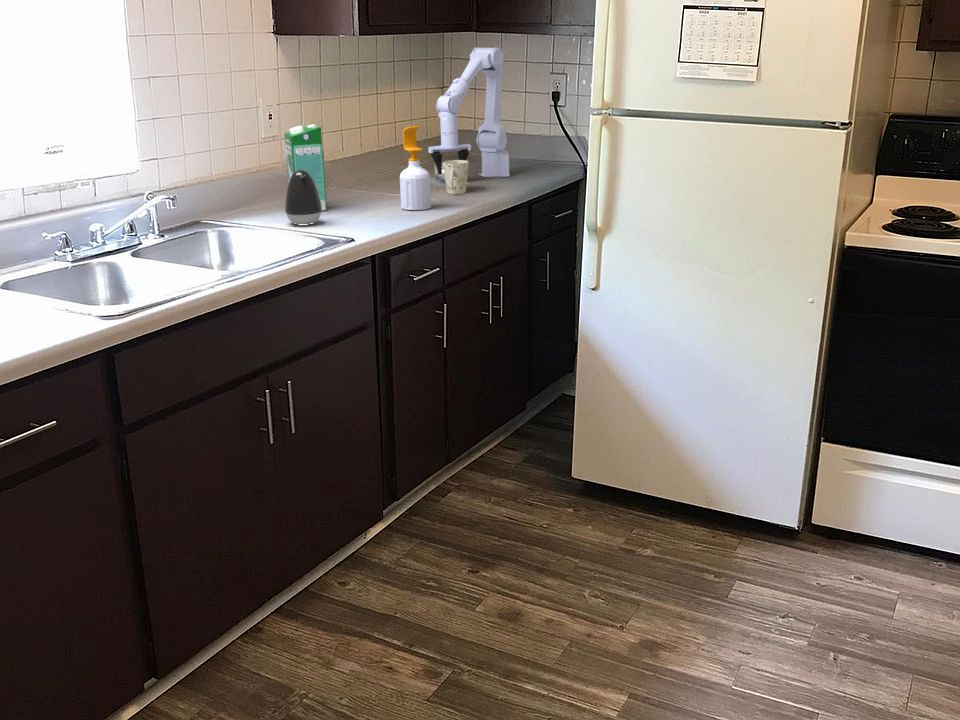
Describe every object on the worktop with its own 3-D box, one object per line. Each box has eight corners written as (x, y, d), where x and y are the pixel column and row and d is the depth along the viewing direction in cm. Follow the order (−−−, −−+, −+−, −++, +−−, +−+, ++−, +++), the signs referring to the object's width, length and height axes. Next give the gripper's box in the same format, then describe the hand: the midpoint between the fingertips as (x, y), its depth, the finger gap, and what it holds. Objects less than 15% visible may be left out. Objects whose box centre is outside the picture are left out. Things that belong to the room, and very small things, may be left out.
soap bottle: (408, 212, 289) (404, 127, 281) (396, 207, 297) (392, 125, 289) (435, 209, 293) (433, 125, 285) (423, 204, 301) (420, 123, 293)
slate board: (455, 177, 348) (455, 176, 347) (470, 185, 331) (470, 183, 331) (423, 180, 344) (423, 178, 344) (436, 188, 328) (436, 186, 328)
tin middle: (450, 179, 341) (450, 164, 339) (453, 181, 337) (453, 166, 335) (437, 180, 340) (437, 165, 338) (440, 182, 336) (440, 167, 334)
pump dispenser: (291, 229, 270) (286, 173, 265) (282, 222, 279) (278, 168, 274) (327, 225, 274) (323, 171, 269) (317, 218, 283) (313, 166, 278)
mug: (470, 190, 323) (469, 160, 319) (466, 197, 311) (465, 165, 308) (445, 190, 324) (444, 160, 320) (440, 197, 312) (439, 165, 308)
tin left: (445, 176, 346) (445, 162, 344) (449, 178, 342) (448, 164, 340) (433, 177, 345) (432, 163, 343) (436, 179, 341) (436, 164, 339)
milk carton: (290, 209, 298) (283, 125, 289) (319, 206, 301) (313, 123, 293) (297, 214, 290) (290, 128, 282) (327, 211, 293) (321, 126, 285)
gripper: (465, 129, 333) (466, 169, 337) (424, 132, 328) (426, 173, 333) (472, 131, 327) (473, 172, 331) (431, 134, 322) (433, 176, 327)
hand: (450, 173), depth 332 cm, fingers open, 7 cm apart
